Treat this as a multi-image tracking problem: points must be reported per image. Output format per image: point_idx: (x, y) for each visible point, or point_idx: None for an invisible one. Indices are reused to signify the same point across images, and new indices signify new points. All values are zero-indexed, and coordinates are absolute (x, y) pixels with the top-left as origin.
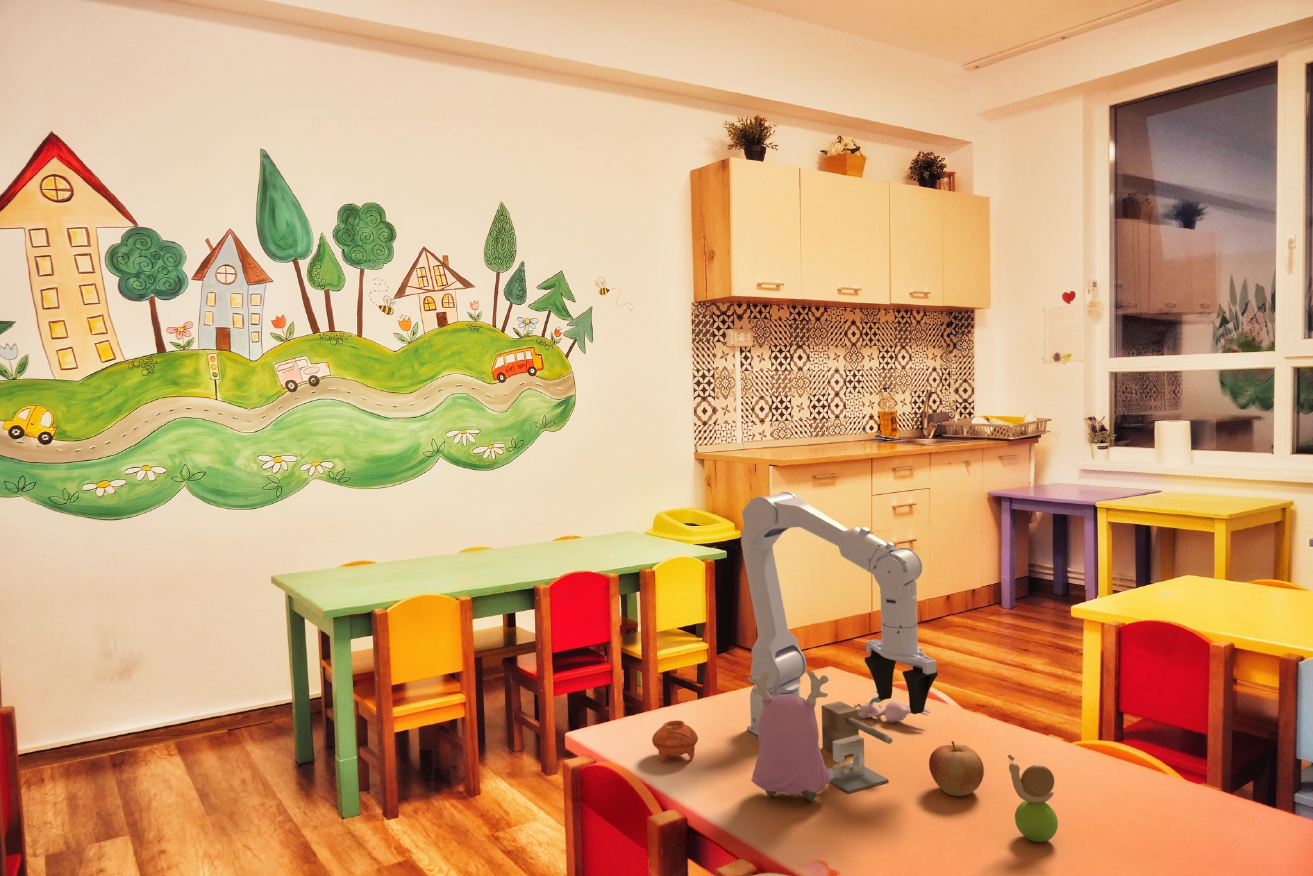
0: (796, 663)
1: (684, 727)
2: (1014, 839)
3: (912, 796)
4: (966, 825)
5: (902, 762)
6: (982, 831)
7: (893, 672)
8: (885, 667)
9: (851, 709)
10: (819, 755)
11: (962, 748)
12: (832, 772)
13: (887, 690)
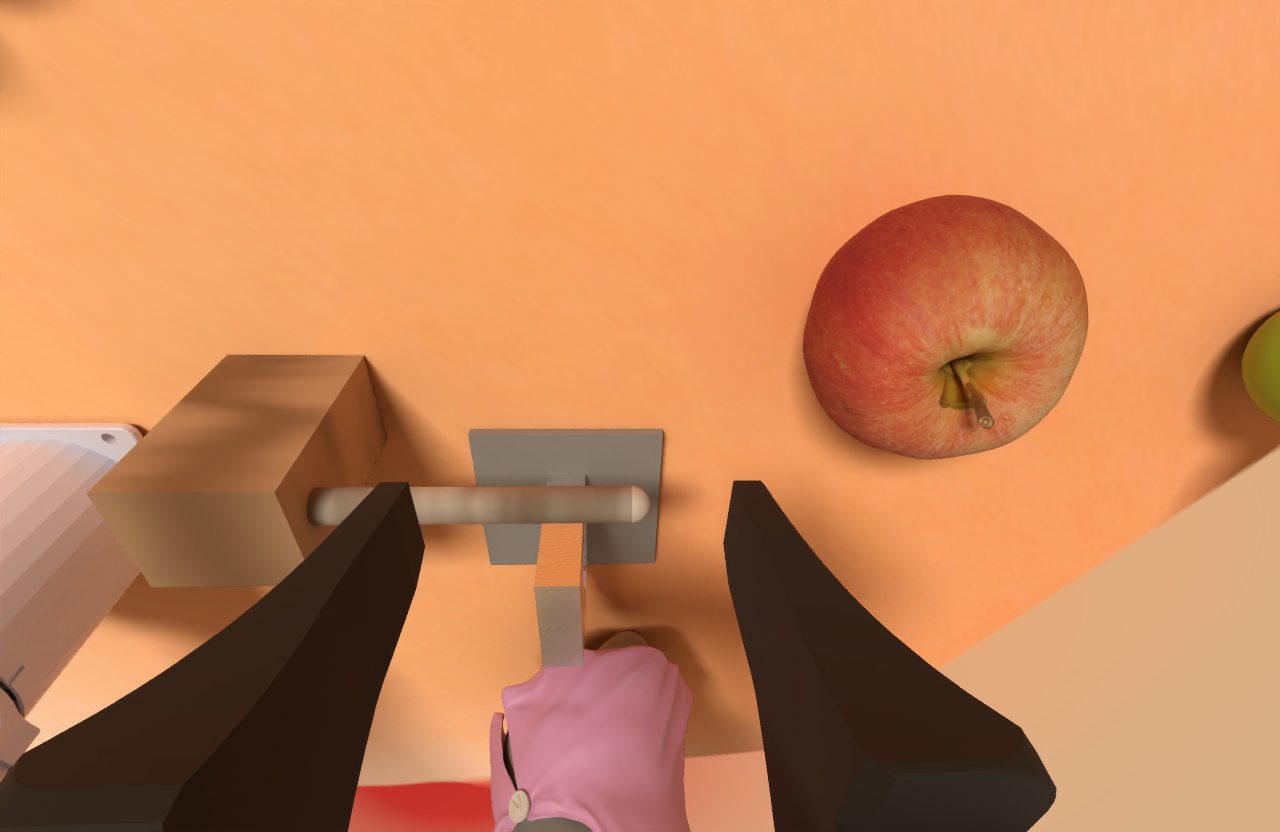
0: None
1: None
2: (1205, 380)
3: (793, 433)
4: (1036, 430)
5: (539, 268)
6: (1095, 419)
7: (309, 635)
8: (311, 769)
9: (259, 515)
10: (664, 761)
11: (999, 344)
12: (514, 535)
13: (391, 555)
